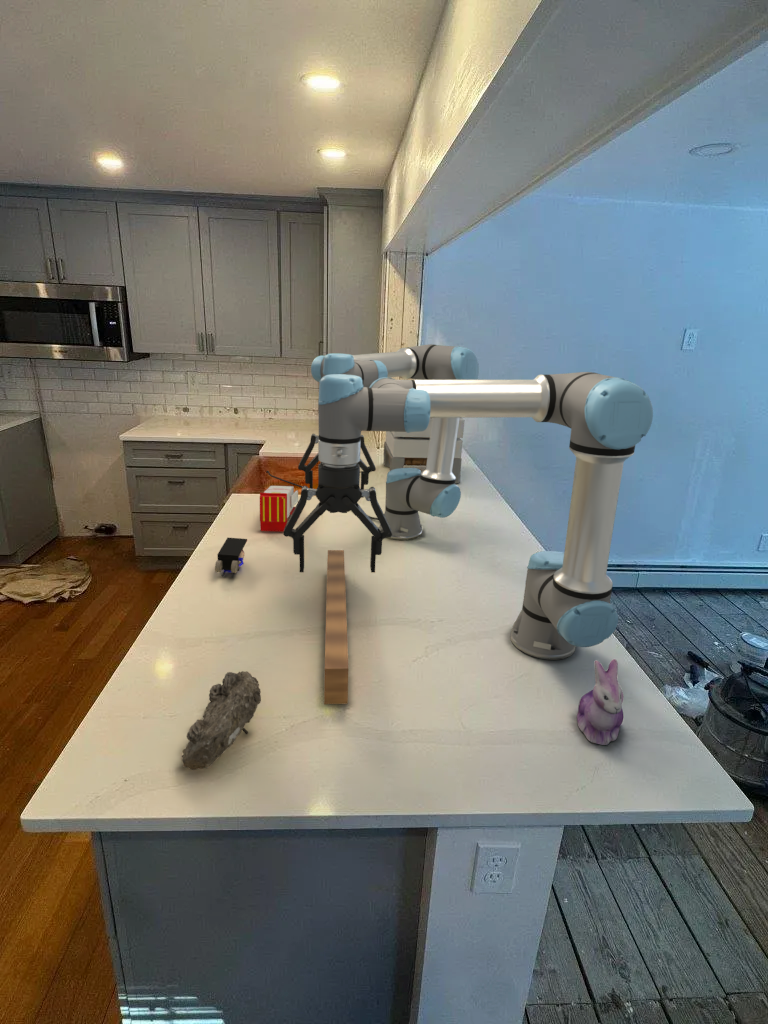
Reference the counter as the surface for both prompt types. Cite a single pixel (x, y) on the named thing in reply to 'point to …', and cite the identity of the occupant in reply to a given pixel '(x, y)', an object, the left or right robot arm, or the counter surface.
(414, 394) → the right robot arm
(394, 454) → the grey tall slatted box
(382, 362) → the left robot arm
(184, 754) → the fossil
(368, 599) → the counter surface
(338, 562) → the post
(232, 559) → the figurine character
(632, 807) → the counter surface
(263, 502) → the toy
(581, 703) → the figurine
